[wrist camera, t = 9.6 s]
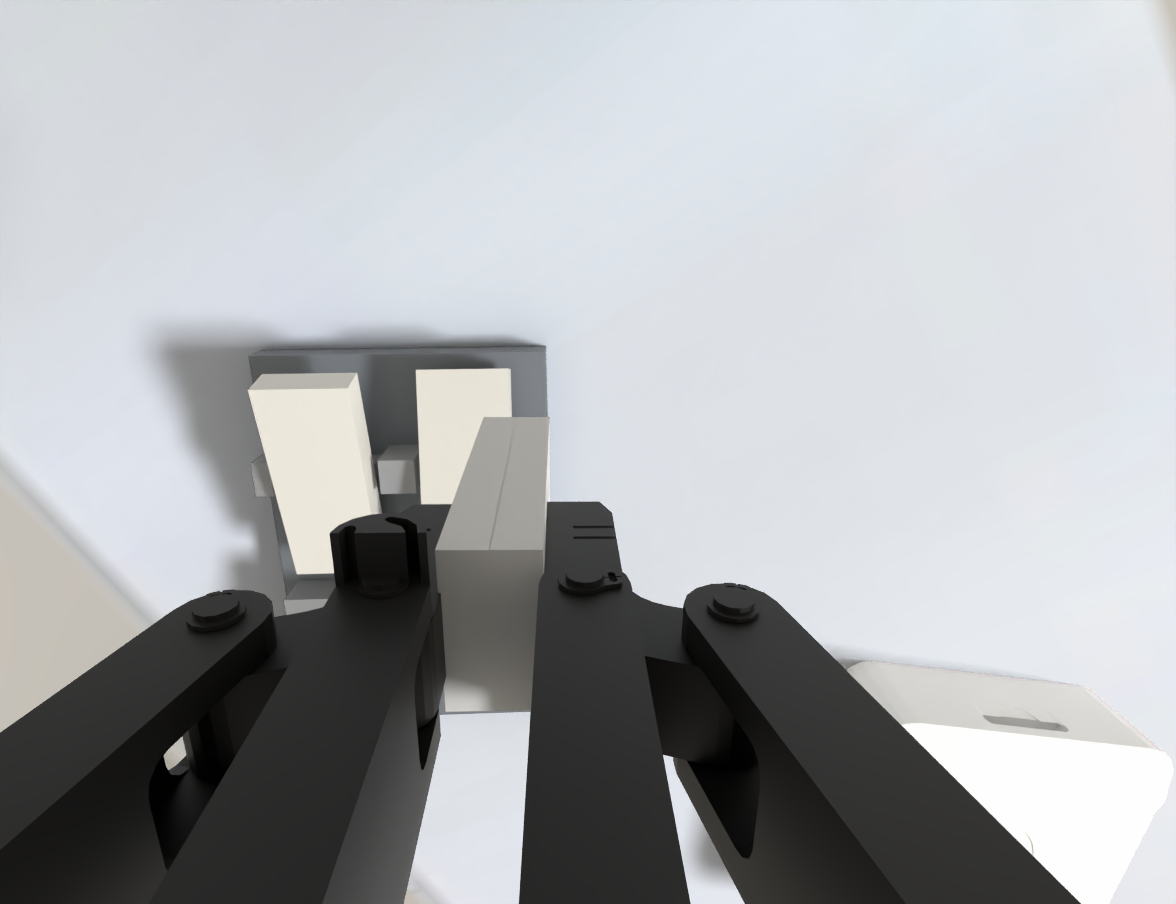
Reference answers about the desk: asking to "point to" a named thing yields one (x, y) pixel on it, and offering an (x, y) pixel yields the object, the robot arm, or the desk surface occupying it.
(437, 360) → the panel
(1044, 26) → the desk surface
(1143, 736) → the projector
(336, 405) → the block
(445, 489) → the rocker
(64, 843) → the robot arm
